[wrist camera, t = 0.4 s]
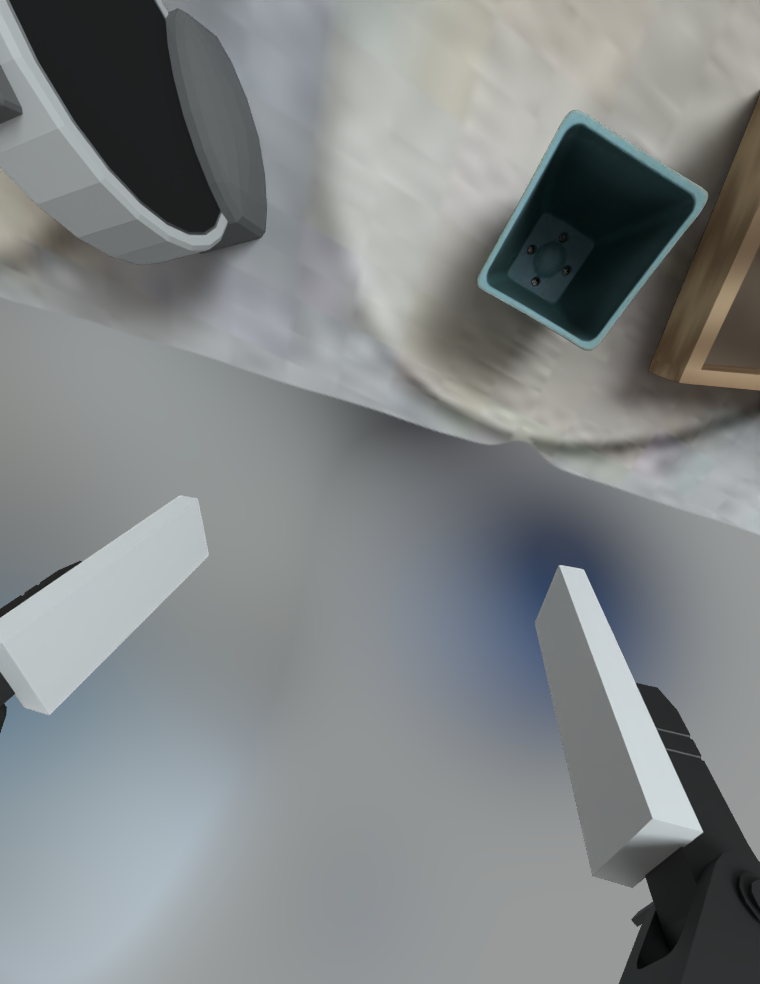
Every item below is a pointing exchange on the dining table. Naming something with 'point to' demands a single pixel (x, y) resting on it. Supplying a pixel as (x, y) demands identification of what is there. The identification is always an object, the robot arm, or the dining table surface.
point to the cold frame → (721, 287)
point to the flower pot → (589, 231)
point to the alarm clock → (129, 127)
